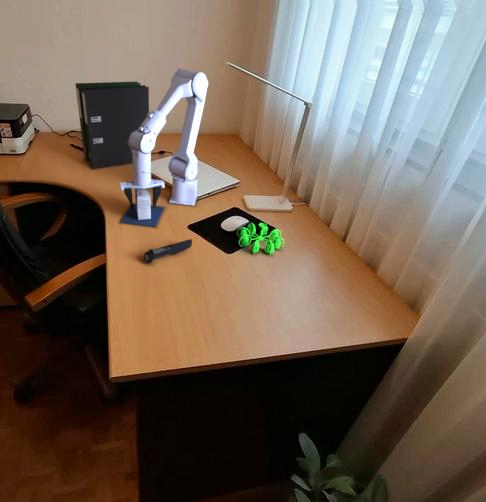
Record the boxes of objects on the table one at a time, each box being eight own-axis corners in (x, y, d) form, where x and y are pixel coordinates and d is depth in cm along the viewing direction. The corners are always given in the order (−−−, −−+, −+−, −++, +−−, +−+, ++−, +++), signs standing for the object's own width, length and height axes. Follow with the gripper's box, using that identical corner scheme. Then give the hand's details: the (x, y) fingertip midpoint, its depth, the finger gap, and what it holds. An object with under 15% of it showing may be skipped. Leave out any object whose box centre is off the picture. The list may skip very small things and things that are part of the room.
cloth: (164, 207, 126) (164, 207, 126) (155, 227, 115) (155, 226, 115) (132, 204, 127) (132, 203, 127) (120, 222, 116) (120, 222, 116)
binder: (138, 151, 174) (136, 81, 155) (150, 161, 163) (150, 87, 145) (84, 158, 162) (75, 83, 144) (93, 169, 152) (84, 90, 134)
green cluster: (287, 238, 113) (291, 219, 109) (277, 262, 102) (282, 243, 98) (242, 226, 118) (245, 208, 114) (228, 249, 107) (231, 229, 103)
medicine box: (150, 219, 118) (150, 196, 113) (137, 220, 117) (136, 197, 112) (147, 208, 125) (147, 186, 120) (135, 209, 124) (134, 186, 119)
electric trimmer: (194, 250, 105) (195, 242, 103) (148, 264, 98) (148, 255, 96) (187, 244, 108) (188, 236, 106) (142, 258, 101) (142, 248, 99)
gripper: (161, 164, 117) (161, 200, 124) (118, 166, 113) (120, 203, 121) (166, 172, 111) (165, 209, 119) (120, 174, 108) (122, 213, 115)
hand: (143, 207), depth 119 cm, fingers open, 7 cm apart
